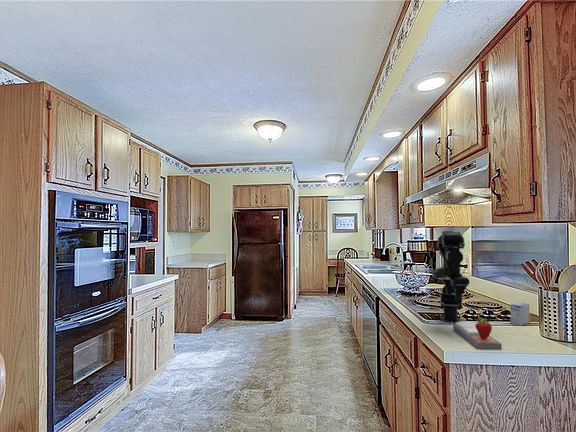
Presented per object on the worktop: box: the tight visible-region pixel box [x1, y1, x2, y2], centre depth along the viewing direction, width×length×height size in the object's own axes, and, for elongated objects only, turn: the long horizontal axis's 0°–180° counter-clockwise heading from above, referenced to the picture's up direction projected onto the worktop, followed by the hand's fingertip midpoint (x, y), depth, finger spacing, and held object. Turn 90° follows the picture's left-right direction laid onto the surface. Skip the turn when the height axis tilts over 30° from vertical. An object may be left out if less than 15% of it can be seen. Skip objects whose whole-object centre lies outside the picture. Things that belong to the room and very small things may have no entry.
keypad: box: [452, 321, 503, 350], centre depth 138 cm, size 22×8×3 cm, turn 175°
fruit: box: [475, 317, 493, 339], centre depth 131 cm, size 5×5×8 cm
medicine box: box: [509, 301, 530, 326], centre depth 158 cm, size 8×4×9 cm, turn 123°
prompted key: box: [471, 336, 497, 343], centre depth 131 cm, size 6×6×2 cm
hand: (453, 298), depth 151 cm, fingers open, 9 cm apart
